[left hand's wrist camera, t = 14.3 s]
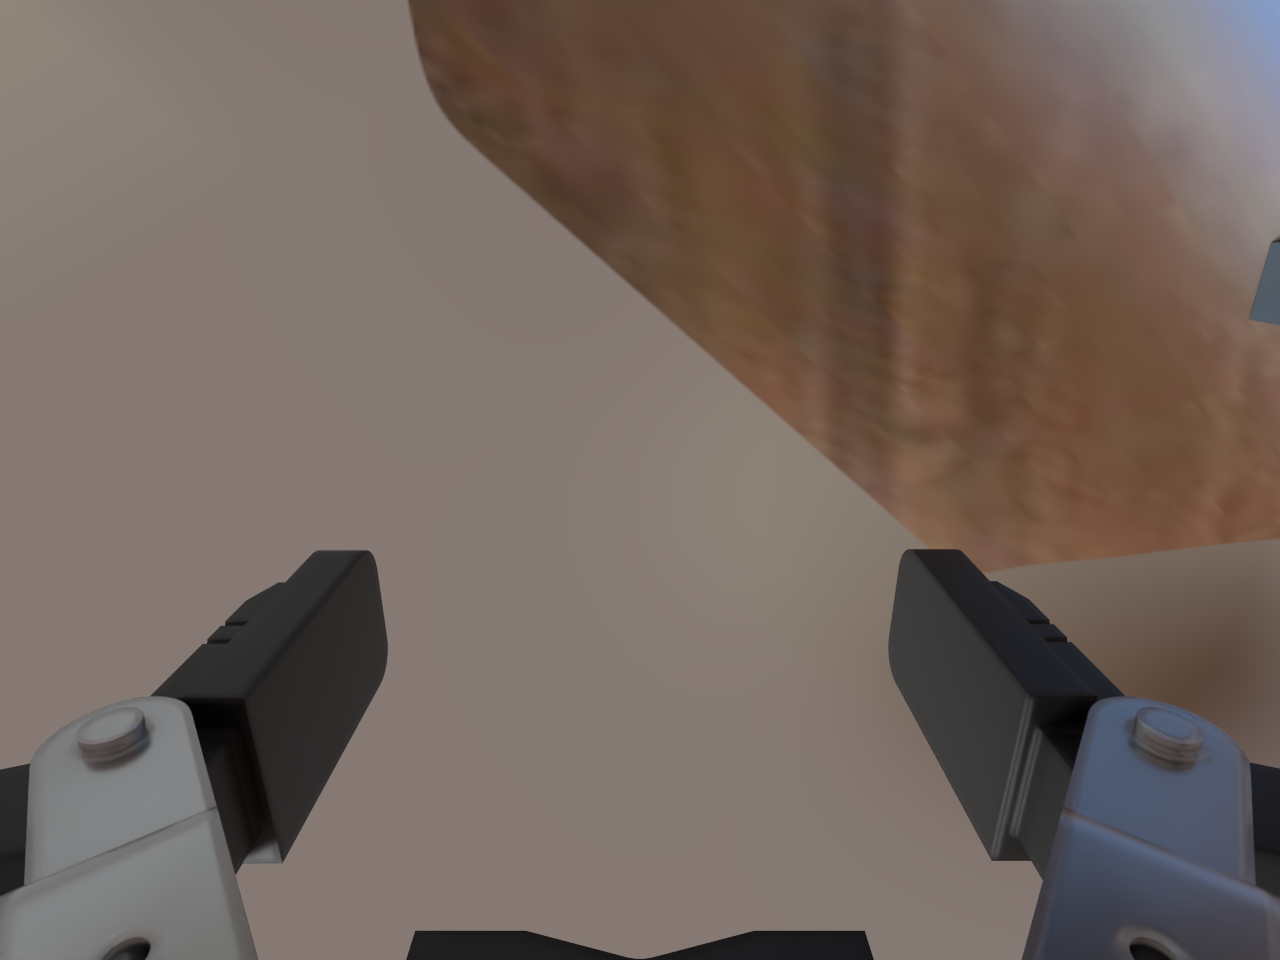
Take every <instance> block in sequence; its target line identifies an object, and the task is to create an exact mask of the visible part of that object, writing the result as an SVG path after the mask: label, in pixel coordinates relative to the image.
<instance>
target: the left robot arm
mask: <svg viewBox="0 0 1280 960" xmlns="http://www.w3.org/2000/svg"><path fill="white" fill-rule="evenodd" d="M888 648H889V661H890V667H891V671H892V675H893V678H894V680H895V682H896V684H897V686H898V688H899V690H900V692H901V693H902V695H903V697H904V699H905V701H906V703H907V704H908V706H909V708H910V710H911V712H912V714H913V716H914V717H915V719H916V721H917V723H918V725H919V727H920V729H921V730H922V732H923V734H924V736H925V738H926V740H927V741H928V743H929V745H930V747H931V749H932V751H933V753H934V754H935V756H936V758H937V760H938V762H939V764H940V766H941V767H942V769H943V771H944V773H945V775H946V777H947V779H948V780H949V782H950V784H951V786H952V788H953V790H954V791H955V793H956V795H957V797H958V799H959V801H960V803H961V804H962V806H963V808H964V810H965V812H966V814H967V816H968V817H969V819H970V821H971V823H972V825H973V827H974V829H975V830H976V832H977V834H978V836H979V838H980V840H981V841H982V843H983V845H984V847H985V849H986V851H987V853H988V854H989V856H990V858H991V860H992V861H1032V863H1033V864H1034V866H1035V868H1036V869H1037V871H1038V873H1039V874H1040V876H1041V878H1042V879H1043V883H1042V887H1041V890H1040V894H1039V898H1038V901H1037V905H1036V909H1035V912H1034V916H1033V920H1032V924H1031V928H1030V931H1029V935H1028V938H1027V942H1026V946H1025V950H1024V953H1023V957H1022V960H1280V769H1279V768H1274V767H1269V766H1264V765H1259V764H1254V763H1249V760H1248V758H1247V756H1246V754H1245V753H1244V751H1243V750H1242V749H1241V748H1240V746H1239V745H1238V744H1237V743H1236V742H1235V741H1234V740H1233V739H1232V738H1231V737H1230V736H1228V735H1227V734H1226V733H1224V732H1223V731H1222V730H1220V729H1219V728H1218V727H1216V726H1214V725H1213V724H1211V723H1210V722H1208V721H1206V720H1204V719H1202V718H1200V717H1199V716H1197V715H1195V714H1192V713H1190V712H1188V711H1186V710H1183V709H1181V708H1178V707H1175V706H1172V705H1170V704H1166V703H1163V702H1159V701H1155V700H1151V699H1146V698H1139V697H1127V696H1125V695H1124V694H1123V693H1122V692H1121V691H1120V690H1119V689H1118V688H1117V687H1116V686H1115V685H1114V684H1113V683H1112V682H1111V681H1110V680H1109V679H1108V678H1107V677H1106V676H1105V675H1104V674H1103V673H1102V672H1101V671H1100V670H1099V669H1098V668H1097V667H1096V666H1095V665H1094V664H1093V663H1092V662H1091V661H1090V660H1089V659H1088V658H1087V657H1086V656H1085V655H1084V654H1083V653H1082V652H1081V651H1080V650H1079V649H1078V648H1077V647H1076V646H1075V645H1074V644H1073V643H1072V642H1067V637H1066V636H1065V635H1064V634H1063V633H1062V632H1061V631H1060V630H1059V629H1058V628H1057V627H1056V626H1055V625H1054V624H1050V623H1049V619H1048V618H1047V617H1046V616H1045V615H1044V614H1043V613H1042V612H1041V611H1040V610H1039V609H1038V608H1037V607H1036V606H1035V605H1034V604H1033V603H1032V602H1031V601H1030V600H1029V599H1027V598H1026V597H1024V596H1022V595H1020V594H1019V593H1017V592H1015V591H1013V590H1011V589H1010V588H1008V587H1006V586H1004V585H1002V584H1001V583H999V582H997V581H989V580H988V579H987V578H986V577H985V576H984V574H983V573H982V572H981V571H980V570H979V569H978V568H977V567H976V566H975V565H974V564H973V563H972V562H971V561H970V560H969V559H968V557H967V556H966V555H965V554H964V553H963V552H962V551H960V550H958V549H908V550H906V551H905V552H904V554H903V555H902V558H901V561H900V565H899V571H898V578H897V585H896V592H895V599H894V606H893V613H892V620H891V627H890V634H889V646H888ZM387 655H388V642H387V634H386V628H385V620H384V614H383V606H382V600H381V593H380V586H379V579H378V572H377V566H376V562H375V559H374V556H373V555H372V553H371V552H370V551H367V550H366V551H365V550H361V551H360V550H351V551H350V550H348V551H347V550H342V551H341V550H335V551H333V550H328V551H326V550H321V551H316V552H314V553H313V554H312V555H311V556H310V557H309V558H308V559H307V560H306V561H305V562H304V563H303V564H302V565H301V566H300V568H299V569H298V570H297V571H296V572H295V573H294V574H293V575H292V576H291V577H290V578H289V579H288V580H287V581H286V582H285V583H277V584H275V585H273V586H272V587H270V588H268V589H266V590H264V591H263V592H261V593H259V594H257V595H255V596H254V597H252V598H250V599H248V600H247V601H245V602H244V604H242V605H241V606H240V607H239V608H238V610H236V611H235V612H234V613H233V614H232V615H231V616H230V617H229V618H228V619H227V620H226V622H225V626H220V627H219V628H218V629H217V630H216V631H215V632H214V633H213V634H212V635H211V636H210V637H209V638H208V642H207V644H202V645H201V646H200V647H199V648H198V649H197V650H196V651H195V652H194V653H193V654H192V655H191V656H190V657H189V658H188V659H187V660H186V661H185V662H184V663H183V664H182V665H181V666H180V667H179V668H178V669H177V670H176V671H175V672H174V673H173V674H172V675H171V676H170V677H169V678H168V679H167V680H166V681H165V682H164V683H163V684H162V685H161V686H160V687H159V688H158V689H157V690H156V691H155V692H154V693H153V694H152V695H151V696H150V697H141V698H134V699H129V700H125V701H121V702H117V703H114V704H110V705H108V706H105V707H102V708H99V709H97V710H94V711H92V712H90V713H88V714H85V715H83V716H82V717H80V718H78V719H76V720H74V721H72V722H70V723H69V724H67V725H66V726H64V727H62V728H61V729H60V730H58V731H57V732H56V733H54V734H53V735H52V736H50V737H49V738H48V739H47V740H46V741H45V742H44V743H43V744H42V745H41V746H40V748H39V749H38V750H37V751H36V753H35V754H34V756H33V758H32V760H31V763H30V764H26V765H21V766H16V767H11V768H7V769H2V770H0V960H258V957H257V953H256V950H255V946H254V942H253V938H252V935H251V931H250V927H249V924H248V920H247V916H246V912H245V909H244V905H243V901H242V898H241V894H240V890H239V887H238V883H237V879H236V873H237V872H238V870H239V868H240V867H241V865H242V863H283V861H284V859H285V858H286V856H287V854H288V852H289V850H290V848H291V847H292V845H293V843H294V841H295V839H296V837H297V836H298V834H299V832H300V830H301V828H302V826H303V825H304V823H305V821H306V819H307V817H308V815H309V814H310V812H311V810H312V808H313V806H314V804H315V803H316V801H317V799H318V797H319V795H320V794H321V792H322V790H323V788H324V786H325V784H326V783H327V781H328V779H329V777H330V775H331V773H332V772H333V770H334V768H335V766H336V764H337V762H338V761H339V759H340V757H341V755H342V753H343V751H344V750H345V748H346V746H347V744H348V742H349V741H350V739H351V737H352V735H353V733H354V731H355V729H356V728H357V726H358V724H359V722H360V720H361V719H362V717H363V715H364V713H365V711H366V709H367V708H368V706H369V704H370V702H371V700H372V698H373V697H374V695H375V693H376V691H377V689H378V687H379V686H380V684H381V681H382V679H383V676H384V673H385V669H386V664H387ZM406 960H874V959H873V956H872V953H871V950H870V946H869V943H868V940H867V937H866V934H865V931H752V932H748V933H744V934H740V935H737V936H733V937H729V938H725V939H721V940H718V941H714V942H710V943H706V944H702V945H698V946H695V947H691V948H687V949H683V950H679V951H676V952H672V953H668V954H664V955H660V956H656V957H653V958H647V959H633V958H627V957H624V956H620V955H616V954H612V953H608V952H604V951H601V950H597V949H593V948H589V947H585V946H582V945H578V944H574V943H570V942H566V941H562V940H558V939H555V938H551V937H547V936H543V935H540V934H536V933H532V932H528V931H415V934H414V937H413V940H412V943H411V946H410V950H409V953H408V956H407V959H406Z"/></svg>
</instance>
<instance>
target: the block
mask: <svg viewBox="0 0 1280 960" xmlns="http://www.w3.org/2000/svg"><path fill="white" fill-rule="evenodd" d="M1249 319H1250V320H1254V321H1260V322H1265V323H1271V324H1276V325H1280V242H1272V243H1271V246H1270V249H1269V253H1268V256H1267V260H1266V263H1265V267H1264V270H1263V273H1262V277H1261V280H1260V284H1259V287H1258V291H1257V294H1256V297H1255V301H1254V304H1253V308H1252V311H1251V315H1250V318H1249Z"/></svg>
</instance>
